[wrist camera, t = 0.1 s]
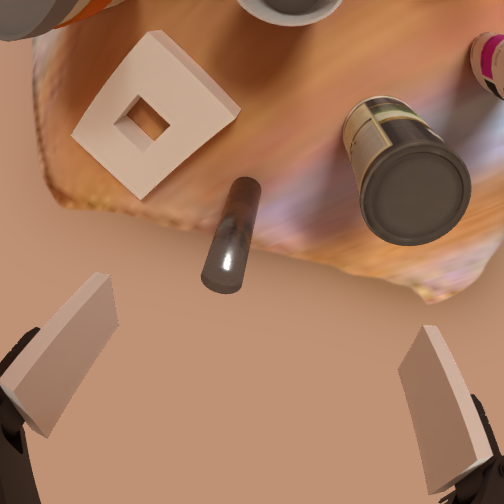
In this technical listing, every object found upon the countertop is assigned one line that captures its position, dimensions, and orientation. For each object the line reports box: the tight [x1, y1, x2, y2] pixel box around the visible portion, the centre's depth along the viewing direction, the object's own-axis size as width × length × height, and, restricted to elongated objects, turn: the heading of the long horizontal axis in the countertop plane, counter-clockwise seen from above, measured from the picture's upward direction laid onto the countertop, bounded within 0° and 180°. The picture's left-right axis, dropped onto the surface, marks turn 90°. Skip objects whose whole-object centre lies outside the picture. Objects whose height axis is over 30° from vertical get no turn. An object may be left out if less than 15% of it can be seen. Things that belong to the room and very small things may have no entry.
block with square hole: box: [71, 30, 241, 200], centre depth 32 cm, size 18×14×4 cm
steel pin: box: [201, 177, 261, 294], centre depth 34 cm, size 4×4×16 cm
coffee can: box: [343, 96, 471, 246], centre depth 26 cm, size 10×10×14 cm
